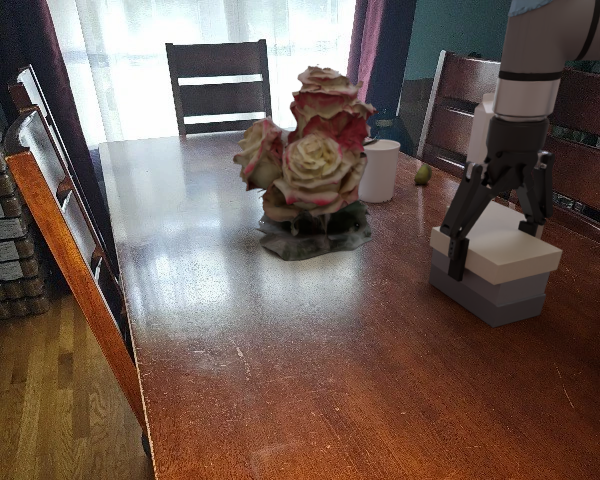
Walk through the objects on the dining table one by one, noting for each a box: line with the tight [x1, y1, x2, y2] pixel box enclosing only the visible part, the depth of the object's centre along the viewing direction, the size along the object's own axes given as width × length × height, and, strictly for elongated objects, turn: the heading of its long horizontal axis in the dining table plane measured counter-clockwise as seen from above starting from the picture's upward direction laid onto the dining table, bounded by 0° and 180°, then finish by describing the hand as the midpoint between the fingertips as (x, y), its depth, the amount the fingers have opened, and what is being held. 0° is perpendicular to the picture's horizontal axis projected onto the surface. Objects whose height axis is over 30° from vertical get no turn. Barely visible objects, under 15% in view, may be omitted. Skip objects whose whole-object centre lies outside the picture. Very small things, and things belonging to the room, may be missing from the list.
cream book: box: [429, 216, 564, 285], centre depth 78 cm, size 16×12×3 cm
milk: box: [465, 92, 496, 201], centre depth 115 cm, size 6×6×22 cm
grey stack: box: [428, 247, 551, 329], centre depth 81 cm, size 17×9×7 cm, turn 23°
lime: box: [413, 163, 433, 185], centre depth 131 cm, size 4×5×5 cm
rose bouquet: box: [232, 63, 381, 261], centre depth 97 cm, size 26×29×30 cm
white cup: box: [358, 139, 401, 204], centre depth 121 cm, size 10×10×12 cm
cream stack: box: [444, 200, 545, 240], centre depth 98 cm, size 16×10×6 cm, turn 23°
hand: (486, 270), depth 81 cm, fingers closed on cream book, 11 cm apart
